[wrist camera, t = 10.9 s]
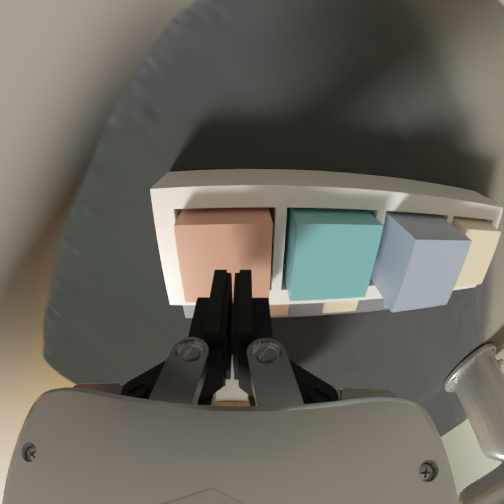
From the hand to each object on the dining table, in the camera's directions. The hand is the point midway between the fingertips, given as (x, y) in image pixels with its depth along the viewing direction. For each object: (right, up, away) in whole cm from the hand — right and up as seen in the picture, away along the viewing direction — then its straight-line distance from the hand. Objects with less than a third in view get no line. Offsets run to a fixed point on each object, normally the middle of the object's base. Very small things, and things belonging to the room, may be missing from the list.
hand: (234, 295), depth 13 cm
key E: (+17, +4, +7) cm, 19 cm away
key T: (+5, +4, +6) cm, 9 cm away
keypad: (+8, +2, +8) cm, 11 cm away
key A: (-1, +4, +6) cm, 7 cm away
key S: (+11, +3, +5) cm, 13 cm away
